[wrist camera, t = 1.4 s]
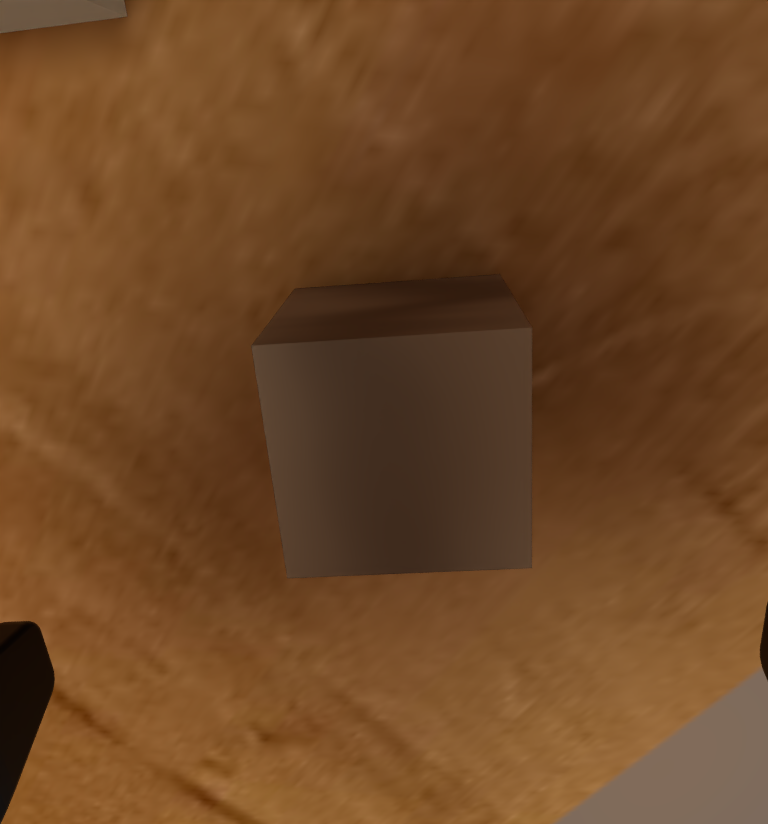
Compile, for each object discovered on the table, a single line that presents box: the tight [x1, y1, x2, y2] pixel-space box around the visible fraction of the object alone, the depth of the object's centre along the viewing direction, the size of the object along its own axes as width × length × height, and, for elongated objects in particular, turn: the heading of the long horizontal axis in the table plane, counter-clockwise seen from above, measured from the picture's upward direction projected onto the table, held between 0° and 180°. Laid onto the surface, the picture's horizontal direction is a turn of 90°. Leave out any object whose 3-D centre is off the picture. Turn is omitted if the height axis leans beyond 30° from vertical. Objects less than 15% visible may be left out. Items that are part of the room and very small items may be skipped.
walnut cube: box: [251, 274, 532, 578], centre depth 16 cm, size 5×5×5 cm
